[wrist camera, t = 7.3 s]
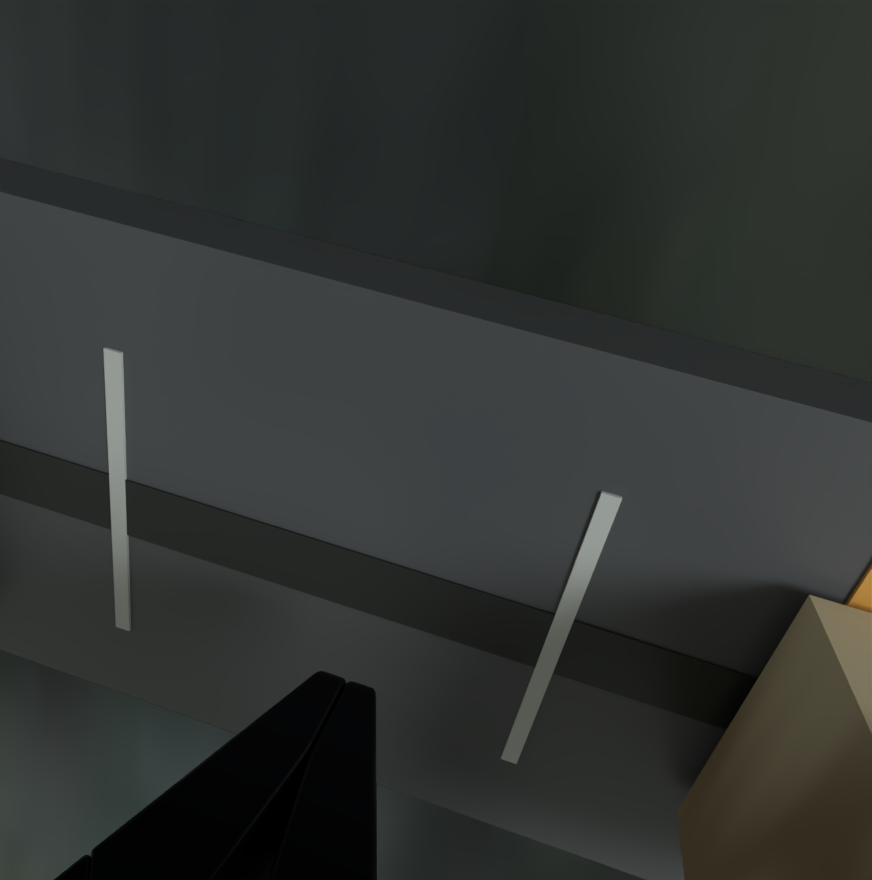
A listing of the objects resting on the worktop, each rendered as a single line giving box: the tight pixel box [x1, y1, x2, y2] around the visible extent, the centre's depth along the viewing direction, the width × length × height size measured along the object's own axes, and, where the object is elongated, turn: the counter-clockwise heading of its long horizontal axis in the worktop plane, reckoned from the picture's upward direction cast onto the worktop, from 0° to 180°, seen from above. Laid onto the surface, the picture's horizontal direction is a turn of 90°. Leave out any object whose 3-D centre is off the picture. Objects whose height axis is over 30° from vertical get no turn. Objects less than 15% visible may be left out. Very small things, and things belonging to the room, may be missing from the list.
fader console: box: [0, 158, 872, 880], centre depth 11 cm, size 10×26×4 cm, turn 78°
